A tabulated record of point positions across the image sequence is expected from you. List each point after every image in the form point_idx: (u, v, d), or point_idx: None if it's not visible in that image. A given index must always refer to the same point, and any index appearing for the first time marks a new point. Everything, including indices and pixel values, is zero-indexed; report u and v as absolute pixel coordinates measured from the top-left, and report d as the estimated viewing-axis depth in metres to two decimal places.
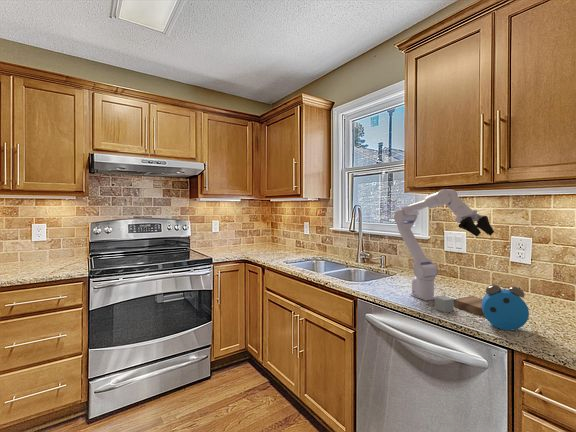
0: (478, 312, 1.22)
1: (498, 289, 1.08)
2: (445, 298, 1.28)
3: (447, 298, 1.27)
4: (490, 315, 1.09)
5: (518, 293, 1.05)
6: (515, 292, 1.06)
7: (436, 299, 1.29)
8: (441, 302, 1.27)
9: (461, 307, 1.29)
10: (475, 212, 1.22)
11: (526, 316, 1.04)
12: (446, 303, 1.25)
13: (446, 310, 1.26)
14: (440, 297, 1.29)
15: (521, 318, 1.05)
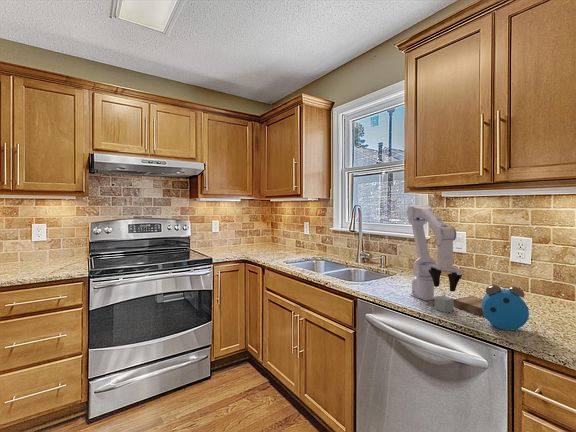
0: (478, 312, 1.22)
1: (498, 289, 1.08)
2: (445, 298, 1.28)
3: (447, 298, 1.27)
4: (490, 315, 1.09)
5: (518, 293, 1.05)
6: (515, 292, 1.06)
7: (436, 299, 1.29)
8: (441, 302, 1.27)
9: (461, 307, 1.29)
10: (439, 269, 1.26)
11: (526, 316, 1.04)
12: (446, 303, 1.25)
13: (446, 310, 1.26)
14: (440, 297, 1.29)
15: (521, 318, 1.05)
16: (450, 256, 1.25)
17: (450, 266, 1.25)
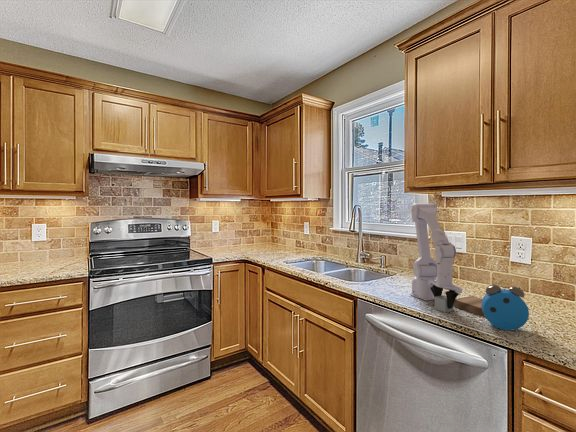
0: (478, 312, 1.22)
1: (498, 289, 1.08)
2: (445, 297, 1.28)
3: None
4: (490, 315, 1.09)
5: (518, 293, 1.05)
6: (515, 292, 1.06)
7: (436, 299, 1.29)
8: (441, 302, 1.27)
9: (461, 307, 1.29)
10: (438, 286, 1.27)
11: (526, 316, 1.04)
12: (446, 303, 1.25)
13: (446, 310, 1.26)
14: (440, 297, 1.29)
15: (521, 318, 1.05)
16: (450, 274, 1.25)
17: (450, 284, 1.25)
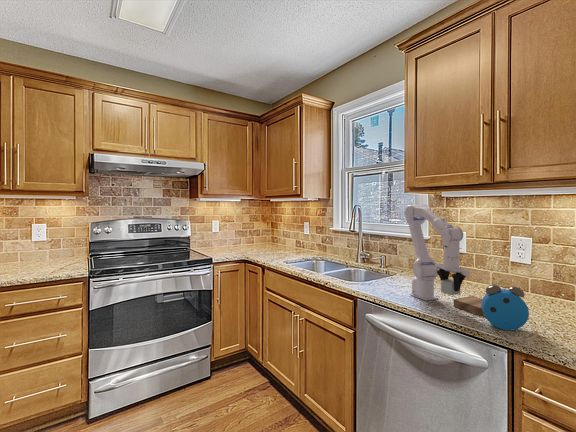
0: (478, 312, 1.22)
1: (498, 289, 1.08)
2: (452, 281, 1.28)
3: None
4: (490, 315, 1.09)
5: (518, 293, 1.05)
6: (515, 292, 1.06)
7: (443, 282, 1.29)
8: (447, 285, 1.27)
9: (461, 307, 1.29)
10: (445, 269, 1.27)
11: (526, 316, 1.04)
12: (453, 286, 1.25)
13: (453, 293, 1.25)
14: (447, 280, 1.29)
15: (521, 318, 1.05)
16: (457, 257, 1.25)
17: (456, 267, 1.25)
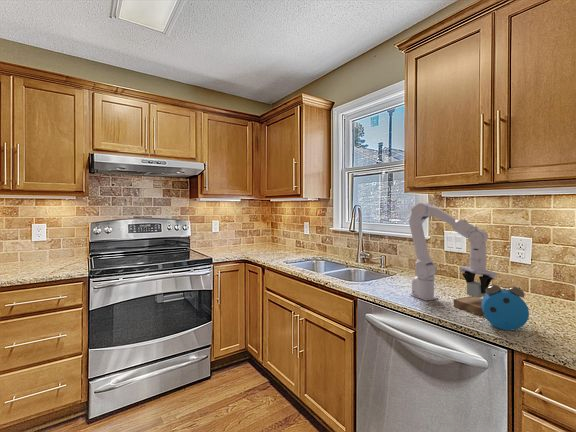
0: (478, 312, 1.22)
1: (498, 289, 1.08)
2: (478, 283, 1.28)
3: (480, 283, 1.28)
4: (490, 315, 1.09)
5: (518, 293, 1.05)
6: (515, 292, 1.06)
7: (468, 285, 1.29)
8: (474, 287, 1.27)
9: (461, 307, 1.29)
10: (472, 271, 1.27)
11: (526, 316, 1.04)
12: (479, 288, 1.26)
13: (479, 295, 1.26)
14: (472, 283, 1.29)
15: (521, 318, 1.05)
16: (485, 258, 1.27)
17: (483, 269, 1.26)
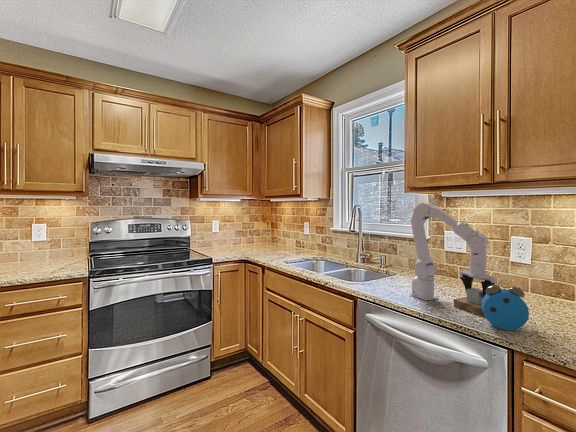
0: (478, 312, 1.22)
1: (498, 289, 1.08)
2: (478, 290, 1.28)
3: (480, 290, 1.28)
4: (490, 315, 1.09)
5: (518, 293, 1.05)
6: (515, 292, 1.06)
7: (468, 291, 1.29)
8: (473, 294, 1.27)
9: (461, 307, 1.29)
10: (472, 276, 1.27)
11: (526, 316, 1.04)
12: (479, 295, 1.26)
13: (479, 302, 1.26)
14: (472, 289, 1.29)
15: (521, 318, 1.05)
16: (485, 263, 1.27)
17: (483, 274, 1.26)
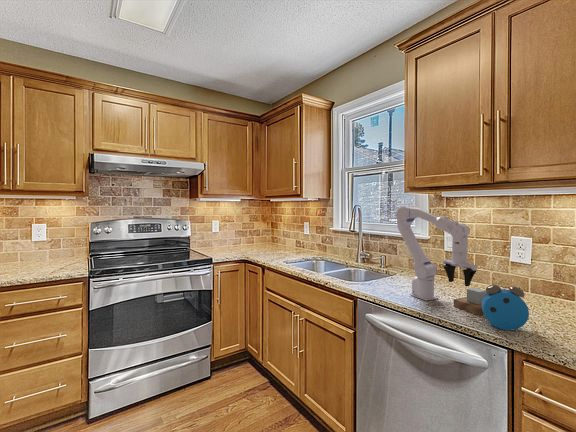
0: (478, 312, 1.22)
1: (498, 289, 1.08)
2: (478, 290, 1.28)
3: (480, 290, 1.28)
4: (490, 315, 1.09)
5: (518, 293, 1.05)
6: (515, 292, 1.06)
7: (468, 291, 1.29)
8: (473, 294, 1.27)
9: (461, 307, 1.29)
10: (454, 264, 1.31)
11: (526, 316, 1.04)
12: (479, 295, 1.26)
13: (479, 302, 1.26)
14: (472, 289, 1.29)
15: (521, 318, 1.05)
16: None
17: (465, 262, 1.30)
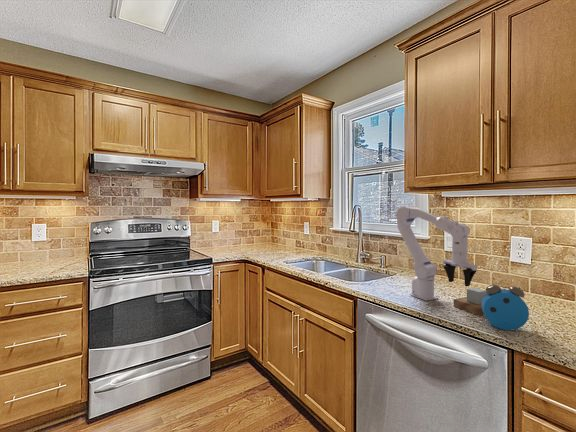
0: (478, 312, 1.22)
1: (498, 289, 1.08)
2: (478, 290, 1.28)
3: (480, 290, 1.28)
4: (490, 315, 1.09)
5: (518, 293, 1.05)
6: (515, 292, 1.06)
7: (468, 291, 1.29)
8: (473, 294, 1.27)
9: (461, 307, 1.29)
10: (454, 264, 1.31)
11: (526, 316, 1.04)
12: (479, 295, 1.26)
13: (479, 302, 1.26)
14: (472, 289, 1.29)
15: (521, 318, 1.05)
16: None
17: (465, 262, 1.30)
